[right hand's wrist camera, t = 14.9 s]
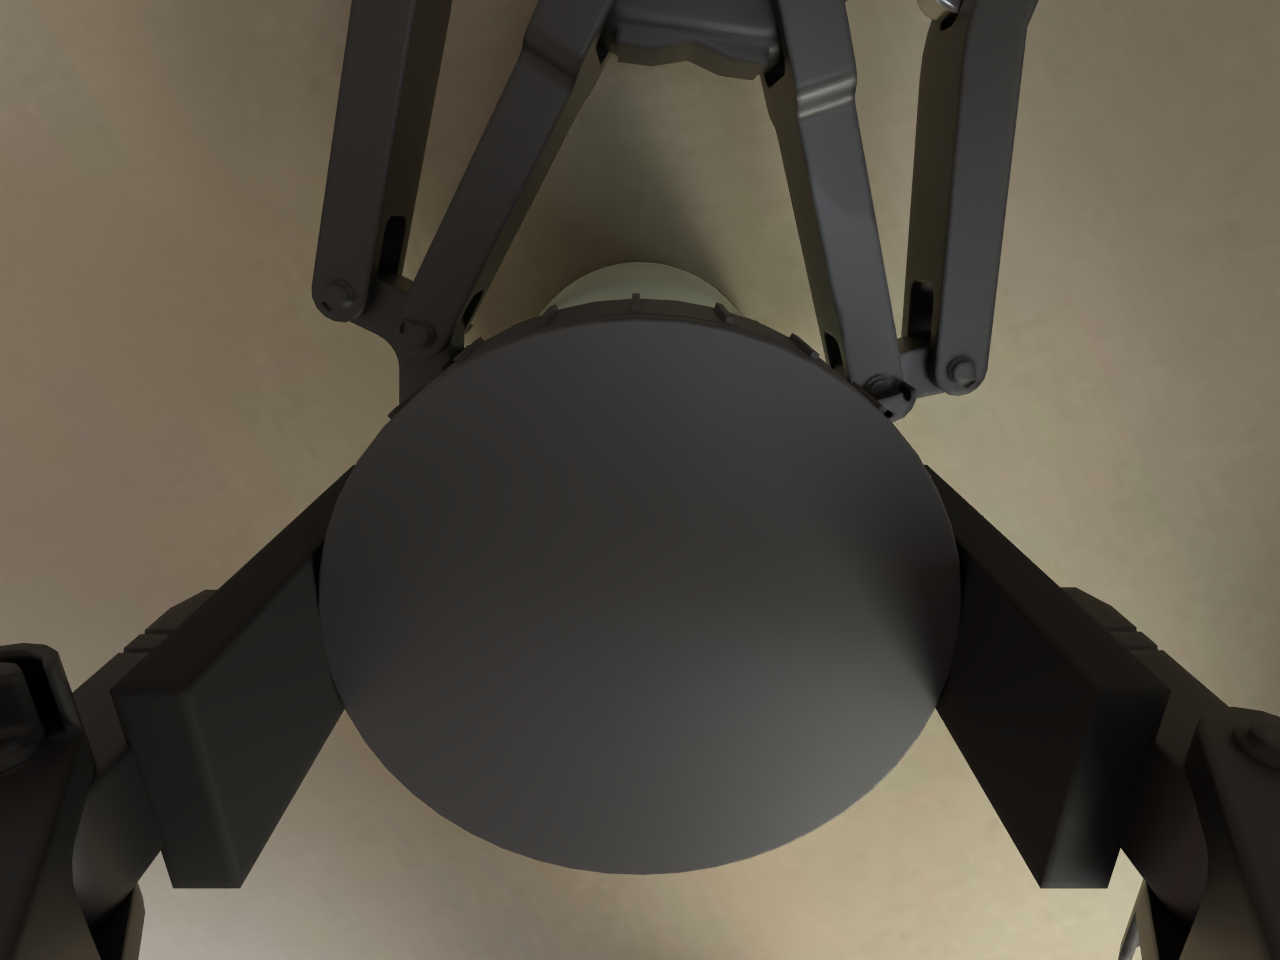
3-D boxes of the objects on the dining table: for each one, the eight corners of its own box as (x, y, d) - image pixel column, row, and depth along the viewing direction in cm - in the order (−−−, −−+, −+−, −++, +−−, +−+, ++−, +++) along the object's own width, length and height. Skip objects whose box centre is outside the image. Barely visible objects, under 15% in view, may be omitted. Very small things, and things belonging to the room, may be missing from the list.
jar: (808, 361, 24) (1033, 576, 10) (661, 535, 27) (686, 901, 13) (614, 207, 22) (572, 216, 9) (475, 408, 25) (267, 670, 11)
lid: (1034, 525, 12) (1106, 584, 10) (686, 859, 14) (692, 954, 13) (571, 155, 10) (555, 144, 8) (267, 622, 12) (203, 695, 11)
